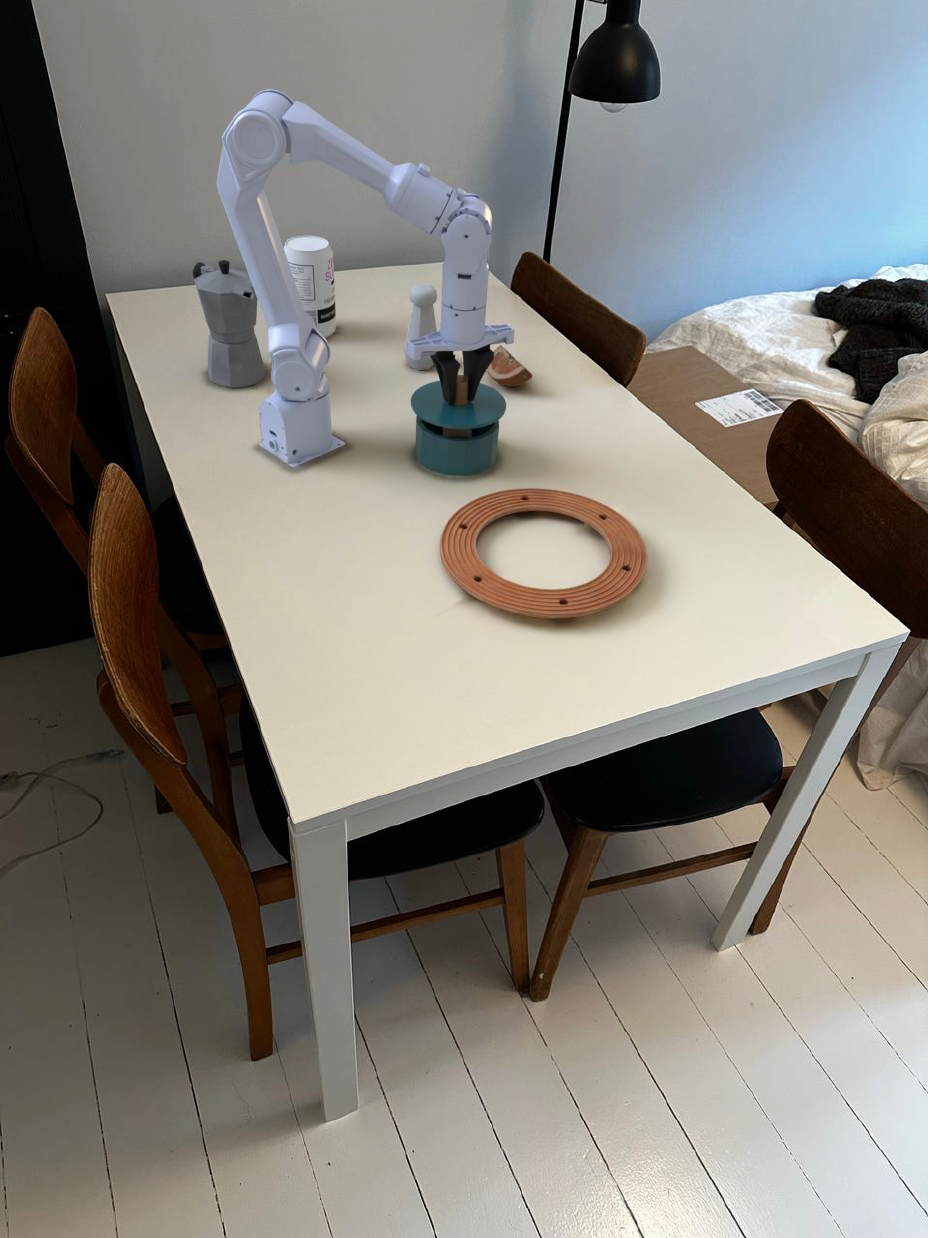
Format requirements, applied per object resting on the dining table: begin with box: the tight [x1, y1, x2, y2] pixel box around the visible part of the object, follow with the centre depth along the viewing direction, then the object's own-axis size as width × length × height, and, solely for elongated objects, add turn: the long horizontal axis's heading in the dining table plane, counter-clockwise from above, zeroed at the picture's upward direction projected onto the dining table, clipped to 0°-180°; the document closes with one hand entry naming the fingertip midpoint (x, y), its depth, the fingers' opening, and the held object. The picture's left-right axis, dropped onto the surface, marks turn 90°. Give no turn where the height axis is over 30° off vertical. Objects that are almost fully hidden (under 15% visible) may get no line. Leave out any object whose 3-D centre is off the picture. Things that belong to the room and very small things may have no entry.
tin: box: [414, 415, 500, 477], centre depth 130 cm, size 11×11×6 cm
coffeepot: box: [192, 259, 268, 389], centre depth 142 cm, size 15×9×18 cm, turn 44°
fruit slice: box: [486, 344, 533, 387], centre depth 148 cm, size 8×7×5 cm
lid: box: [410, 374, 507, 429], centre depth 126 cm, size 13×13×4 cm
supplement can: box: [283, 235, 337, 339], centre depth 155 cm, size 8×8×15 cm
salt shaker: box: [403, 283, 438, 371], centre depth 149 cm, size 6×6×13 cm
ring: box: [439, 487, 648, 620], centre depth 114 cm, size 25×25×2 cm
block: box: [442, 427, 472, 439], centre depth 131 cm, size 4×4×4 cm
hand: (458, 399), depth 126 cm, fingers closed on lid, 2 cm apart
